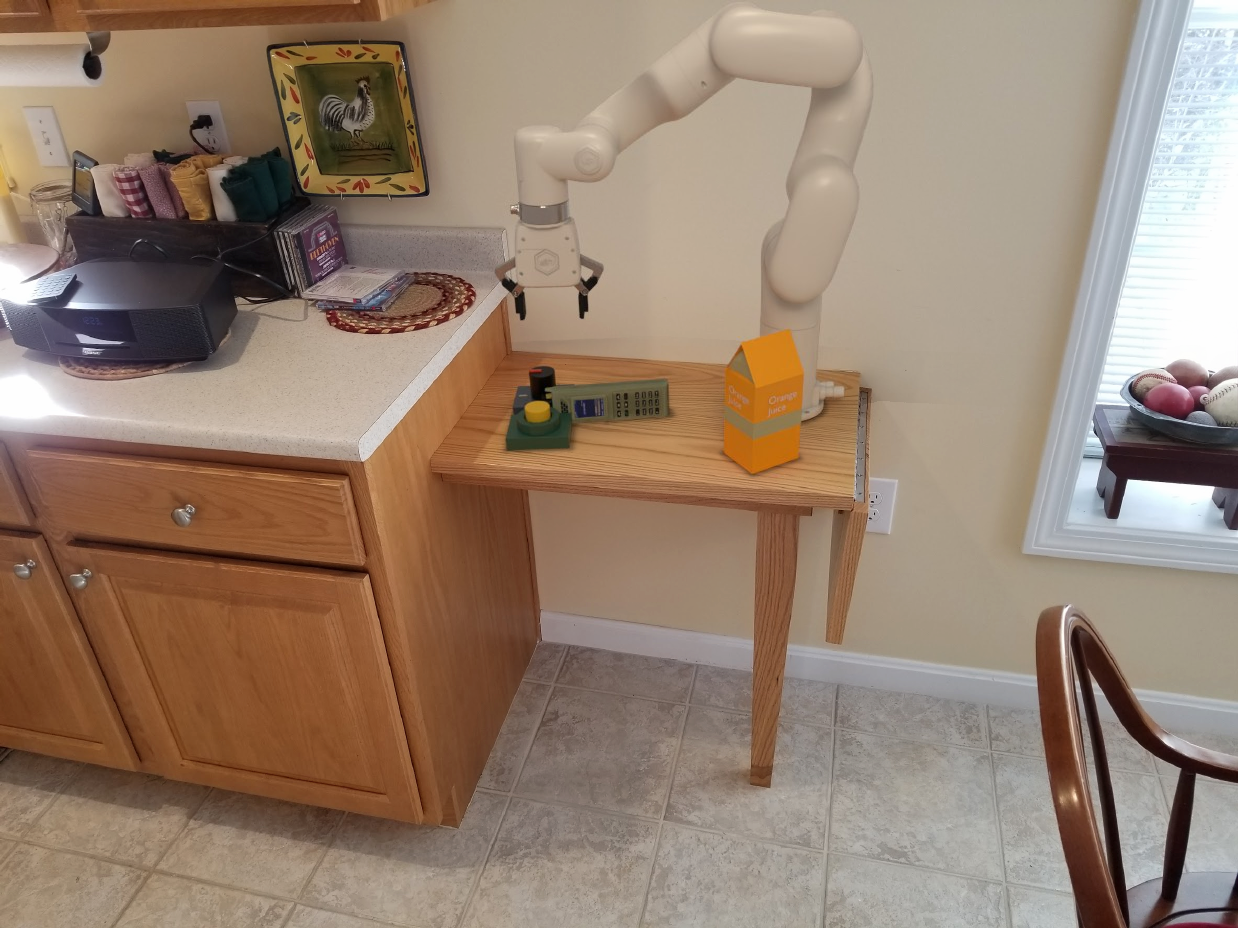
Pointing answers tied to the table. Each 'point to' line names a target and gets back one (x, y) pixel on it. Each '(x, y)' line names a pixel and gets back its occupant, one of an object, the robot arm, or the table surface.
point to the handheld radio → (612, 400)
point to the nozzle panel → (525, 398)
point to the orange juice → (763, 402)
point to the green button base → (539, 432)
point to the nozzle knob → (541, 381)
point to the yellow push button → (537, 411)
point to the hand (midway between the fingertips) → (552, 316)
